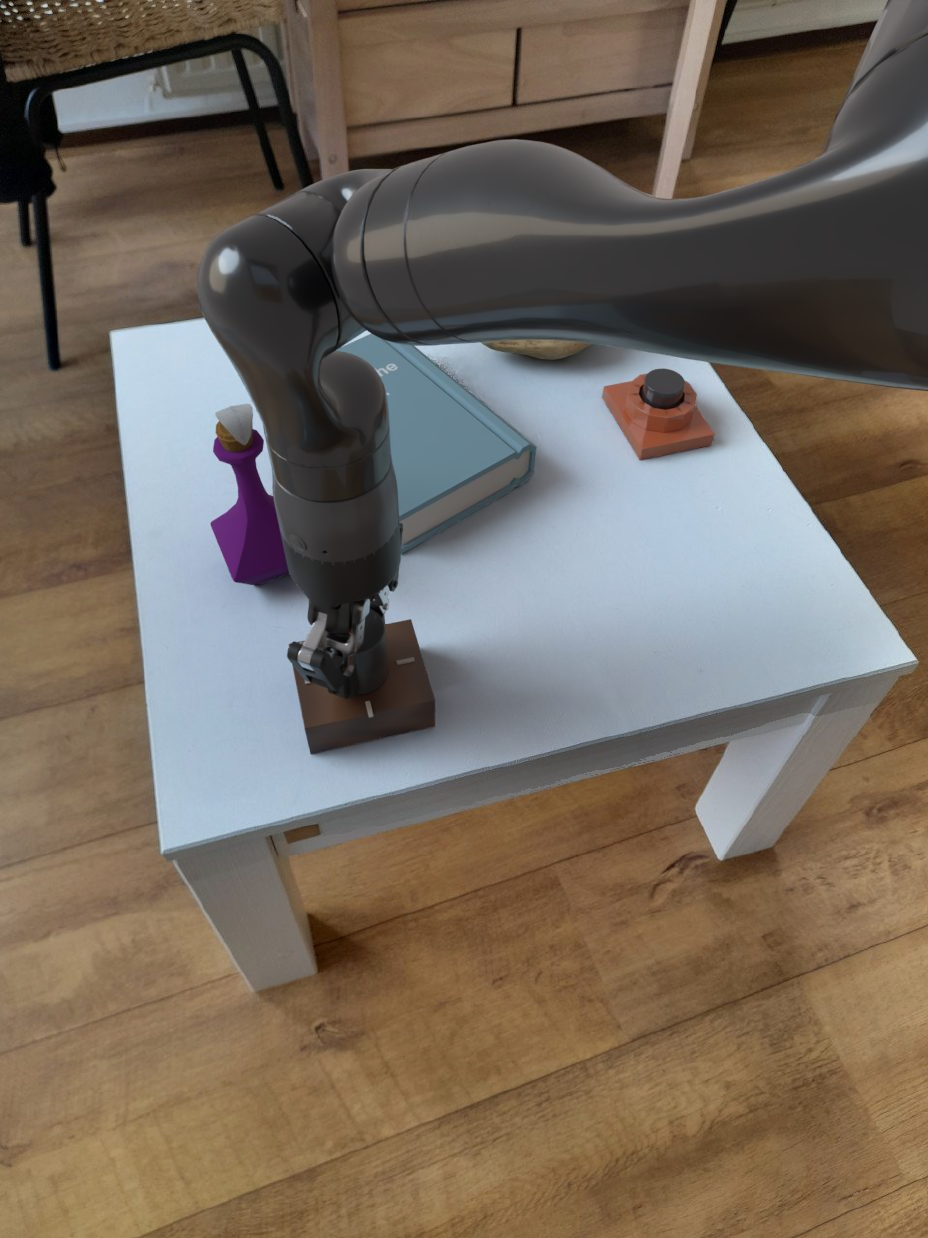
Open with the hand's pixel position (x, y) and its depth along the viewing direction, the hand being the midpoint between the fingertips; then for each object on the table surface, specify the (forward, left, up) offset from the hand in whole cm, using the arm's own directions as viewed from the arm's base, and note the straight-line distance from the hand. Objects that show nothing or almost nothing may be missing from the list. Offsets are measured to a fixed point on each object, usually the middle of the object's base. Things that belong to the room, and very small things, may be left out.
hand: (358, 664), depth 71 cm
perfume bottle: (+14, -10, -5) cm, 18 cm away
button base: (-14, -42, -5) cm, 45 cm away
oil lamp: (+1, -49, -5) cm, 49 cm away
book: (+9, -28, -5) cm, 30 cm away
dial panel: (0, 0, -5) cm, 5 cm away
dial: (0, 0, -1) cm, 1 cm away
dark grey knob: (-14, -42, -2) cm, 44 cm away
